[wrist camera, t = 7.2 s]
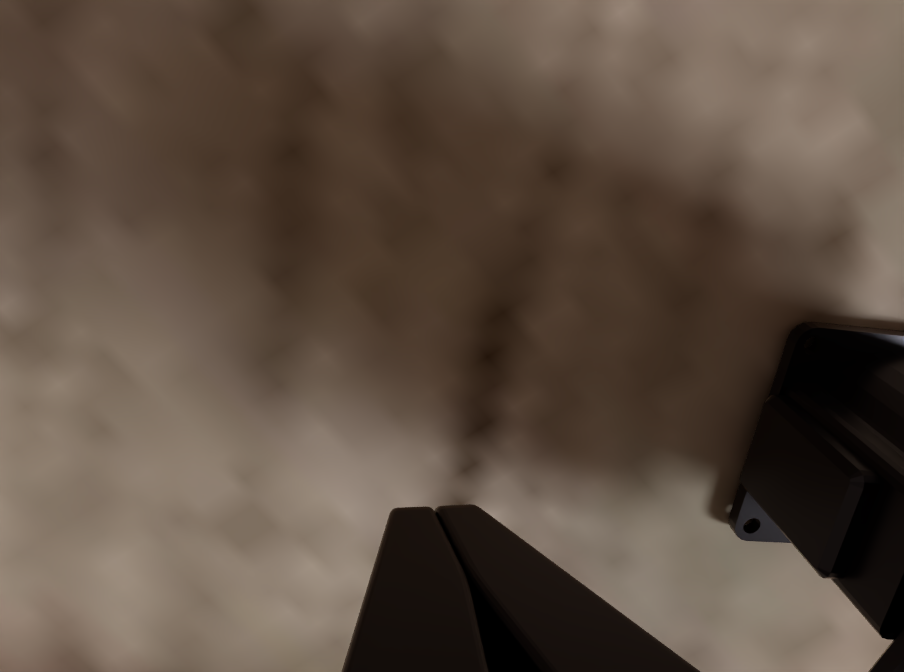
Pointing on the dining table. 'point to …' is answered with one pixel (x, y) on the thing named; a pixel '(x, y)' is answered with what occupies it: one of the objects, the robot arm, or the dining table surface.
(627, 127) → the dining table surface
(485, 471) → the dining table surface
